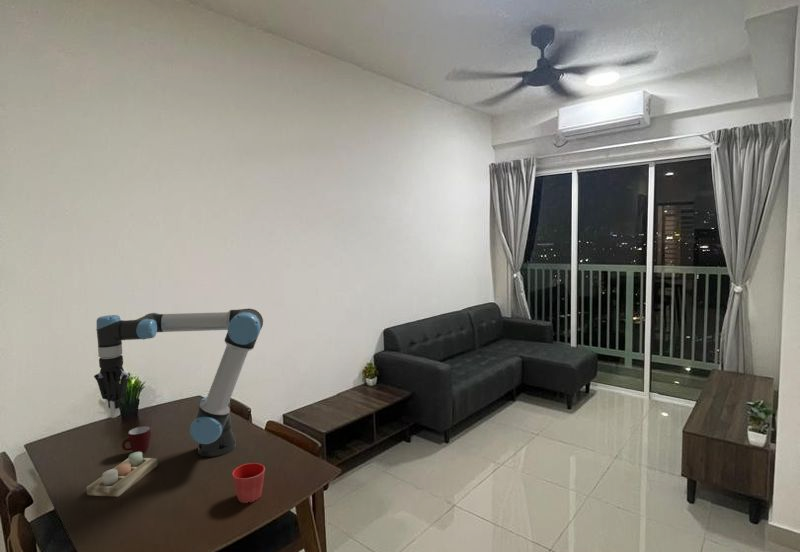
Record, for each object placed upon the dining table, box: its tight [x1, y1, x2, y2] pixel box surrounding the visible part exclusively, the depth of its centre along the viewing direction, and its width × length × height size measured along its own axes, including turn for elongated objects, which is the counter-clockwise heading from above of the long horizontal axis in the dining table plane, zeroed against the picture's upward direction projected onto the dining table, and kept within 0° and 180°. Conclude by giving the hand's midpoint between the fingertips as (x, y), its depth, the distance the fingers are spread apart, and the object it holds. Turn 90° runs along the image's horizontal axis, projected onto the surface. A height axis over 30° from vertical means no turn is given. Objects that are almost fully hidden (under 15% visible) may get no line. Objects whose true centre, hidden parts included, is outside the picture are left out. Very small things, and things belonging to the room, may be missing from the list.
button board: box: [86, 457, 158, 498], centre depth 161 cm, size 12×21×3 cm, turn 175°
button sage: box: [128, 452, 144, 467], centre depth 168 cm, size 5×5×4 cm
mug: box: [121, 425, 152, 455], centre depth 181 cm, size 11×8×10 cm
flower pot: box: [231, 462, 266, 504], centre depth 149 cm, size 11×11×10 cm
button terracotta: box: [116, 463, 131, 476], centre depth 161 cm, size 5×5×4 cm
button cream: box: [101, 468, 118, 486], centre depth 155 cm, size 5×5×4 cm
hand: (115, 416), depth 163 cm, fingers closed
